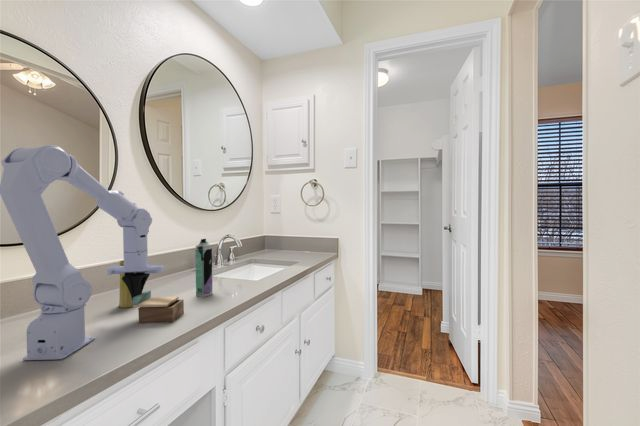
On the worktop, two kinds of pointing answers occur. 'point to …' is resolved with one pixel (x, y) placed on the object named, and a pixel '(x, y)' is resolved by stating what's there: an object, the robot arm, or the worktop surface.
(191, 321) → the worktop surface
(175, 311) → the box
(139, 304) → the tan panel teal strip
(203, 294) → the spray can
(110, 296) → the worktop surface
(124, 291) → the vase
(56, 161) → the robot arm
